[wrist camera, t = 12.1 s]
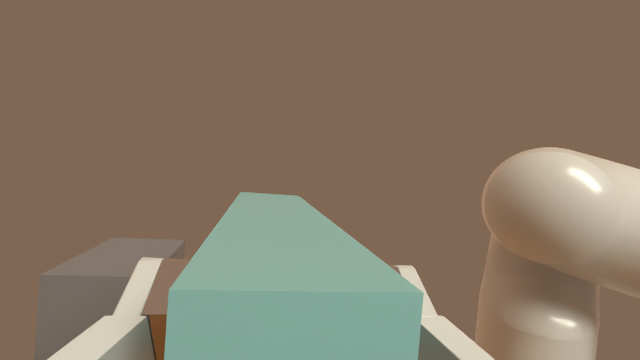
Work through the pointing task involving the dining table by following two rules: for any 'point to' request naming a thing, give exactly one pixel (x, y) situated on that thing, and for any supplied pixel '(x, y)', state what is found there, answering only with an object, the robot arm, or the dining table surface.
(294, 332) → the mint green bar
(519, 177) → the robot arm
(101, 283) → the stand
